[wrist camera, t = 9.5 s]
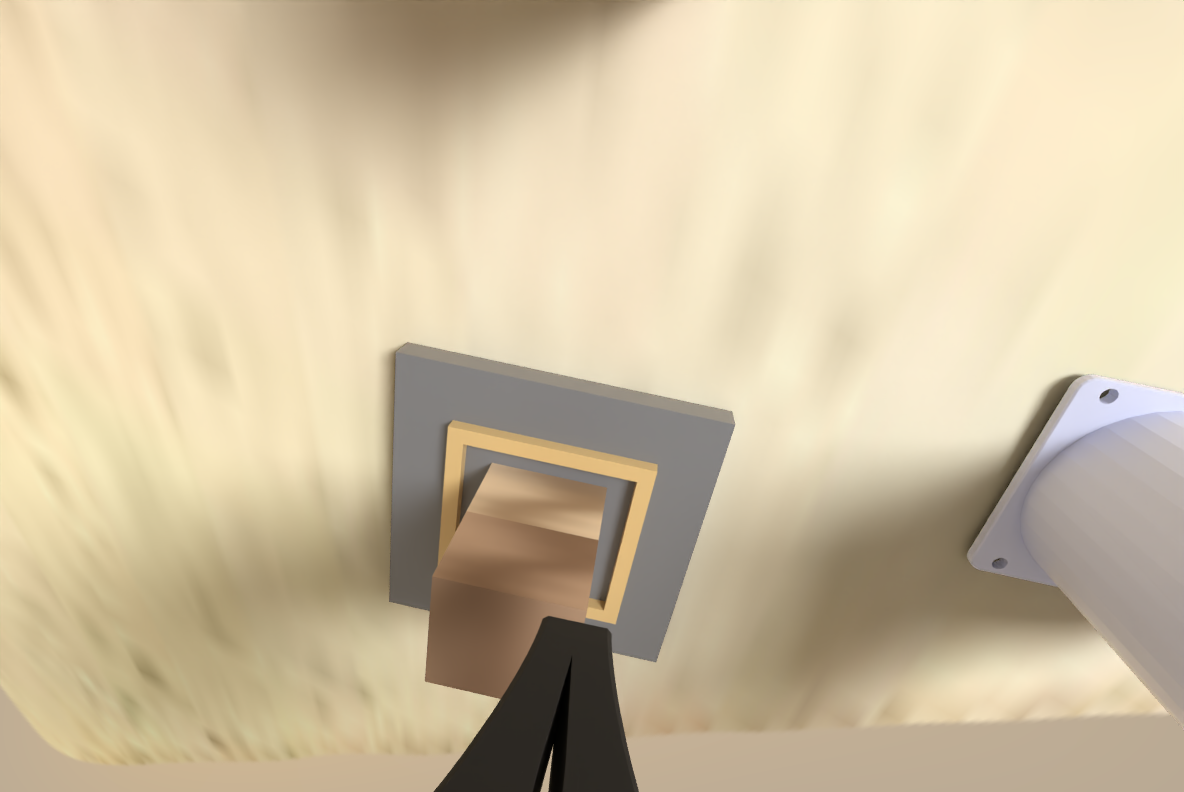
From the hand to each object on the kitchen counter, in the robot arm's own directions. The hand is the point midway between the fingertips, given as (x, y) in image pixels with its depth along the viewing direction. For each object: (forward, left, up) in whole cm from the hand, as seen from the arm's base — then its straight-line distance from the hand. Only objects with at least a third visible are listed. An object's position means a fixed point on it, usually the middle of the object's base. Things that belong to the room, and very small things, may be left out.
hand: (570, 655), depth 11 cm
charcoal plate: (+2, +5, -10) cm, 11 cm away
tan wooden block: (+2, +4, -9) cm, 10 cm away
